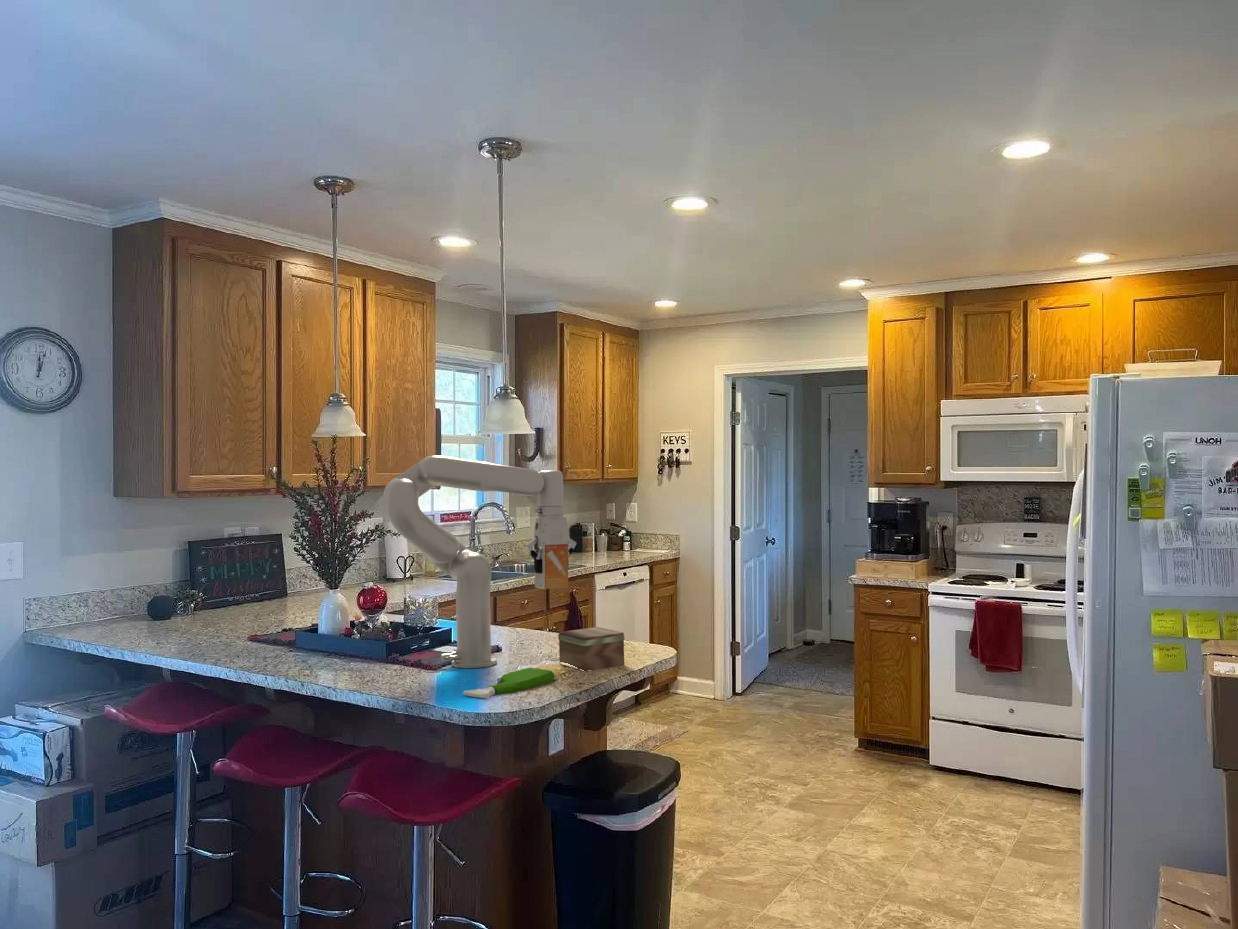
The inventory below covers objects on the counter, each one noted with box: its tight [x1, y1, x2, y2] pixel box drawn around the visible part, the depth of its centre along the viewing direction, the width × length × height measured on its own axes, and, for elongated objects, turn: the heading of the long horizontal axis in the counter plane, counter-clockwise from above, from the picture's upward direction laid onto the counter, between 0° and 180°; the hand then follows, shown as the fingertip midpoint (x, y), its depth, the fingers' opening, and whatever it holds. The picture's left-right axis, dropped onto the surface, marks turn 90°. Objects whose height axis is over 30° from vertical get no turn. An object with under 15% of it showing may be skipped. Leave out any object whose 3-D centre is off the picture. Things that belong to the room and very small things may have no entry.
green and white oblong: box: [462, 667, 555, 700], centre depth 225 cm, size 3×11×24 cm
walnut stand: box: [557, 626, 625, 672], centre depth 252 cm, size 13×13×9 cm
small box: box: [534, 544, 569, 590], centre depth 265 cm, size 8×6×13 cm
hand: (551, 571), depth 265 cm, fingers closed on small box, 8 cm apart
